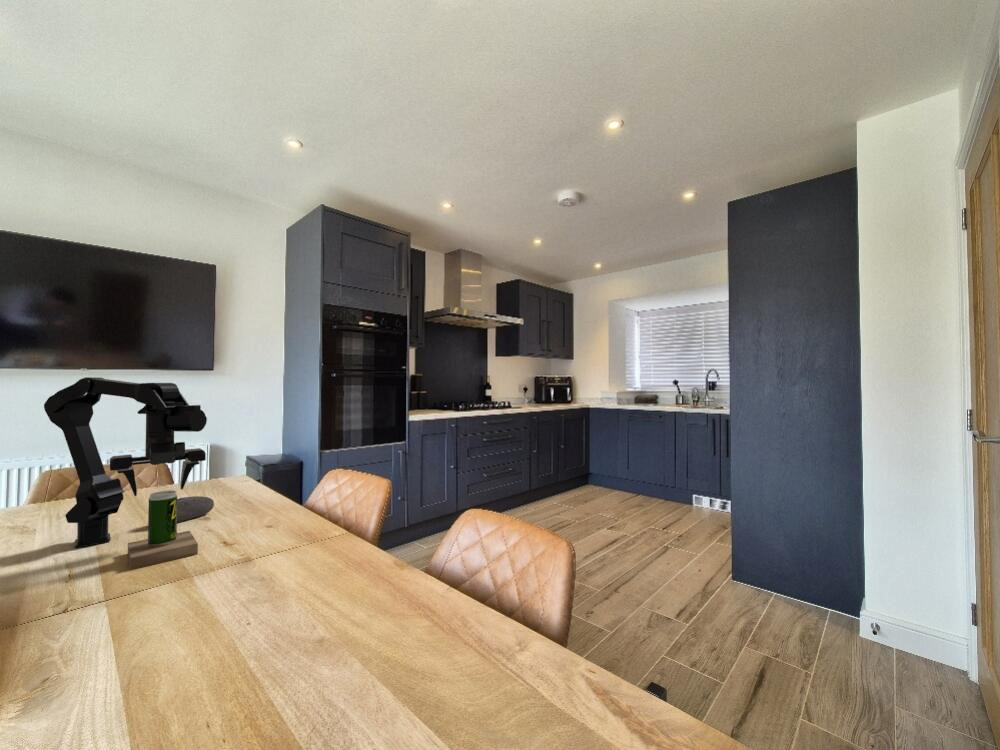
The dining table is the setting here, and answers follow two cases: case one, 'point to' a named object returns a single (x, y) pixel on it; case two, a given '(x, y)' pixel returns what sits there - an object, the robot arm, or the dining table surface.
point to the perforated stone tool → (193, 507)
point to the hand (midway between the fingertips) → (159, 492)
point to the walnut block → (161, 551)
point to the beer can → (162, 518)
